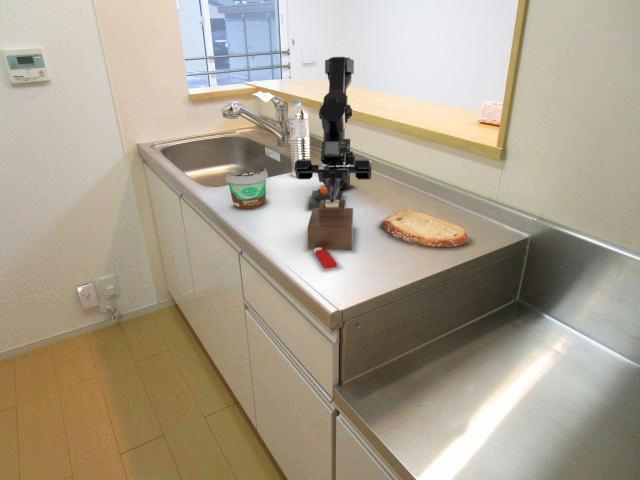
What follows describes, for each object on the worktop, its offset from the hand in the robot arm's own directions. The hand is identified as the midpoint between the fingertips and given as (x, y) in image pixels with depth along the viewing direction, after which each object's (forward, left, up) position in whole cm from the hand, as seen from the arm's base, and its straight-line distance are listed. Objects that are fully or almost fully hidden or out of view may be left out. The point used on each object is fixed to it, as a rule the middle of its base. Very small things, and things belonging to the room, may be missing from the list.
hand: (332, 200), depth 108 cm
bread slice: (-14, +17, -9) cm, 24 cm away
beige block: (0, 0, -3) cm, 3 cm away
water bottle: (-27, -41, -9) cm, 50 cm away
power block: (-13, -15, -8) cm, 22 cm away
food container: (+3, -29, -9) cm, 31 cm away
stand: (+3, +2, -8) cm, 9 cm away
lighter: (+12, +9, -9) cm, 17 cm away
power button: (-13, -15, -5) cm, 21 cm away
